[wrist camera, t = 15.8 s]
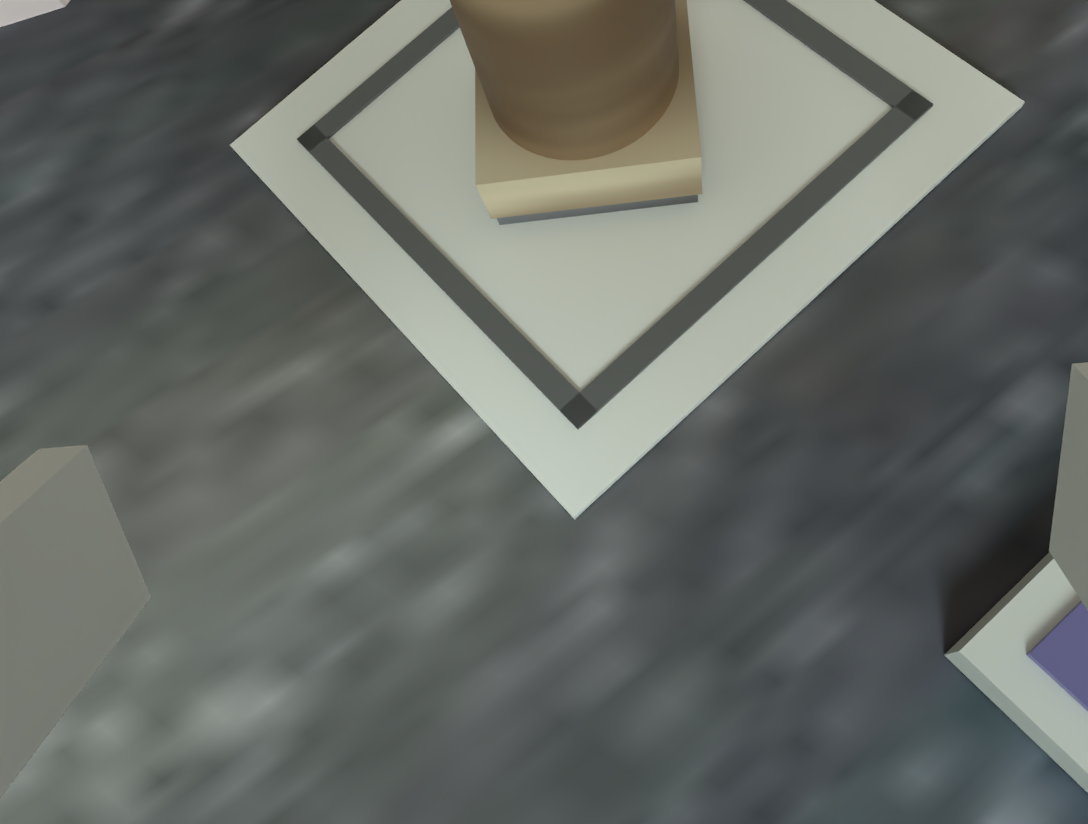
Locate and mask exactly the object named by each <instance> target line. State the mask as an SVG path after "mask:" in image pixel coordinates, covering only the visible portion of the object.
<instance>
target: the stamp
mask: <svg viewBox="0 0 1088 824" xmlns="http://www.w3.org/2000/svg"><path fill="white" fill-rule="evenodd" d="M450 3H451V5H452V8H453V11H454V13H455V16H456V19H457V21H458V24H459V27H460V29H461V32H462V35H463V37H464V40H465V42H466V45H467V48H468V50H469V53H470V56H471V58H472V61H473V64H474V66H475V185H476V187H477V190H478V192H479V194H480V196H481V198H482V200H483V203H484V205H485V207H486V209H487V211H488V213H489V216H490V218H491V219H494V218H497V220H498V222H499V225H505V224H513V223H522V222H531V221H539V220H548V219H556V218H565V217H574V216H582V215H591V214H599V213H608V212H616V211H625V210H634V209H642V208H651V207H659V206H668V205H677V204H685V203H694V202H698V194H702V165H701V149H700V138H699V128H698V117H697V106H696V96H695V85H694V74H693V63H692V53H691V42H690V31H689V20H688V10H687V0H450Z"/></svg>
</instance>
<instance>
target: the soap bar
mask: <svg viewBox="0 0 1088 824" xmlns="http://www.w3.org/2000/svg"><path fill="white" fill-rule="evenodd" d="M69 1H70V0H0V27H2V26H6V25H9V24H12V23H15V22H18V21H22V20H25V19H28V18H31V17H34V16H38V15H41V14H44V13H47V12H50V11H54V10H57V9H60V8H63V7H65V6H66V5H67V4H68V3H69Z"/></svg>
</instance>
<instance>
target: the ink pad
mask: <svg viewBox="0 0 1088 824" xmlns="http://www.w3.org/2000/svg"><path fill="white" fill-rule="evenodd" d="M945 656H946V657H947V658H948V659H949V660H950V661H951V662H952V663H953V664H954V665H955V666H956V667H957V668H958V669H959V670H960V671H961V672H962V673H963V674H964V675H965V676H966V677H968V678H969V679H970V680H971V681H972V682H973V683H974V684H975V685H976V686H977V687H978V688H979V689H980V690H981V691H982V692H983V693H984V694H985V695H986V696H987V697H988V698H989V699H990V700H991V701H993V702H994V703H995V704H996V705H997V706H998V707H999V708H1000V709H1001V710H1002V711H1003V712H1004V713H1005V714H1006V715H1007V716H1008V717H1009V718H1010V719H1011V720H1012V721H1013V722H1014V723H1015V724H1017V725H1018V726H1019V727H1020V728H1021V729H1022V730H1023V731H1024V732H1025V733H1026V734H1027V735H1028V736H1029V737H1030V738H1031V739H1032V740H1033V741H1034V742H1035V743H1036V744H1037V745H1038V746H1039V747H1040V748H1042V749H1043V750H1044V751H1045V752H1046V753H1047V754H1048V755H1049V756H1050V757H1051V758H1052V759H1053V760H1054V761H1055V762H1056V763H1057V764H1058V765H1059V766H1060V767H1061V768H1062V769H1063V770H1064V771H1065V772H1067V773H1068V774H1069V775H1070V776H1071V777H1072V778H1073V779H1074V780H1075V781H1076V782H1077V783H1078V784H1079V785H1080V786H1081V787H1082V788H1083V789H1084V790H1085V791H1086V792H1087V793H1088V610H1087V609H1086V607H1085V606H1084V604H1083V603H1082V601H1081V600H1080V598H1079V596H1078V595H1077V593H1076V592H1075V590H1074V589H1073V587H1072V586H1071V584H1070V583H1069V581H1068V579H1067V578H1066V576H1065V575H1064V573H1063V572H1062V570H1061V569H1060V567H1059V566H1058V564H1057V562H1056V561H1055V559H1054V558H1053V556H1052V555H1051V553H1050V552H1049V553H1048V554H1047V555H1046V556H1045V557H1044V558H1043V559H1042V560H1041V561H1040V562H1039V563H1038V564H1037V565H1036V566H1034V567H1033V568H1032V569H1031V570H1030V571H1029V572H1028V573H1027V574H1026V575H1025V576H1024V577H1023V578H1022V579H1021V580H1020V581H1019V582H1018V583H1017V584H1016V585H1015V586H1014V587H1013V588H1012V589H1011V590H1010V591H1009V592H1008V593H1007V594H1006V595H1005V596H1004V597H1003V598H1002V599H1001V600H1000V601H999V602H998V603H997V604H996V605H995V606H994V607H993V608H992V609H991V610H990V611H989V612H988V613H987V614H985V615H984V616H983V617H982V618H981V619H980V620H979V621H978V622H977V623H976V624H975V625H974V626H973V627H972V628H971V629H970V630H969V631H968V632H967V633H966V634H965V635H964V636H963V637H962V638H961V639H960V640H959V641H958V642H957V643H956V644H955V645H954V646H953V647H952V648H951V649H950V650H949V651H948V652H947V653H946V654H945Z"/></svg>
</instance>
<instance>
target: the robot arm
mask: <svg viewBox="0 0 1088 824" xmlns="http://www.w3.org/2000/svg"><path fill="white" fill-rule="evenodd" d="M1049 552H1050V553H1051V555H1052V556H1053V558H1054V559H1055V561H1056V562H1057V564H1058V566H1059V567H1060V569H1061V570H1062V572H1063V573H1064V575H1065V576H1066V578H1067V579H1068V581H1069V583H1070V584H1071V586H1072V587H1073V589H1074V590H1075V592H1076V593H1077V595H1078V596H1079V598H1080V600H1081V601H1082V603H1083V604H1084V606H1085V607H1086V609H1087V610H1088V363H1076V364H1072V368H1071V376H1070V384H1069V392H1068V400H1067V408H1066V416H1065V424H1064V432H1063V440H1062V448H1061V456H1060V464H1059V472H1058V481H1057V489H1056V497H1055V505H1054V513H1053V521H1052V529H1051V537H1050V545H1049ZM150 599H151V596H150V594H149V592H148V589H147V587H146V584H145V582H144V580H143V577H142V575H141V573H140V570H139V568H138V565H137V563H136V561H135V558H134V556H133V553H132V551H131V549H130V546H129V544H128V541H127V539H126V537H125V534H124V532H123V530H122V527H121V525H120V522H119V520H118V518H117V515H116V513H115V510H114V508H113V506H112V503H111V501H110V498H109V496H108V494H107V491H106V489H105V487H104V484H103V482H102V479H101V477H100V475H99V472H98V470H97V467H96V465H95V463H94V460H93V458H92V455H91V453H90V451H89V448H88V446H87V445H80V446H68V447H56V448H44V449H38V450H37V451H36V452H35V453H34V454H32V455H31V456H30V457H29V458H28V459H26V460H25V461H24V462H23V463H22V464H20V465H19V466H18V467H17V468H16V469H14V470H13V471H12V472H11V473H10V474H9V475H7V476H6V477H5V478H4V479H3V480H1V481H0V798H1V796H2V795H3V794H4V792H5V791H6V790H7V788H8V787H9V786H10V784H11V783H12V782H13V780H14V779H15V778H16V776H17V775H18V774H19V772H20V771H21V770H22V769H23V767H24V766H25V765H26V763H27V762H28V761H29V759H30V758H31V757H32V755H33V754H34V753H35V751H36V750H37V749H38V747H39V746H40V745H41V743H42V742H43V741H44V739H45V738H46V737H47V735H48V734H49V733H50V731H51V730H52V729H53V727H54V726H55V725H56V723H57V722H58V721H59V719H60V718H61V717H62V715H63V714H64V713H65V712H66V710H67V709H68V708H69V706H70V705H71V704H72V702H73V701H74V700H75V698H76V697H77V696H78V694H79V693H80V692H81V690H82V689H83V688H84V686H85V685H86V684H87V682H88V681H89V680H90V678H91V677H92V676H93V674H94V673H95V672H96V670H97V669H98V668H99V666H100V665H101V664H102V662H103V661H104V660H105V659H106V657H107V656H108V655H109V653H110V652H111V651H112V649H113V648H114V647H115V645H116V644H117V643H118V641H119V640H120V639H121V637H122V636H123V635H124V633H125V632H126V631H127V629H128V628H129V627H130V625H131V624H132V623H133V621H134V620H135V619H136V617H137V616H138V615H139V613H140V612H141V611H142V609H143V608H144V607H145V606H146V604H147V603H148V602H149V600H150Z"/></svg>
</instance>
